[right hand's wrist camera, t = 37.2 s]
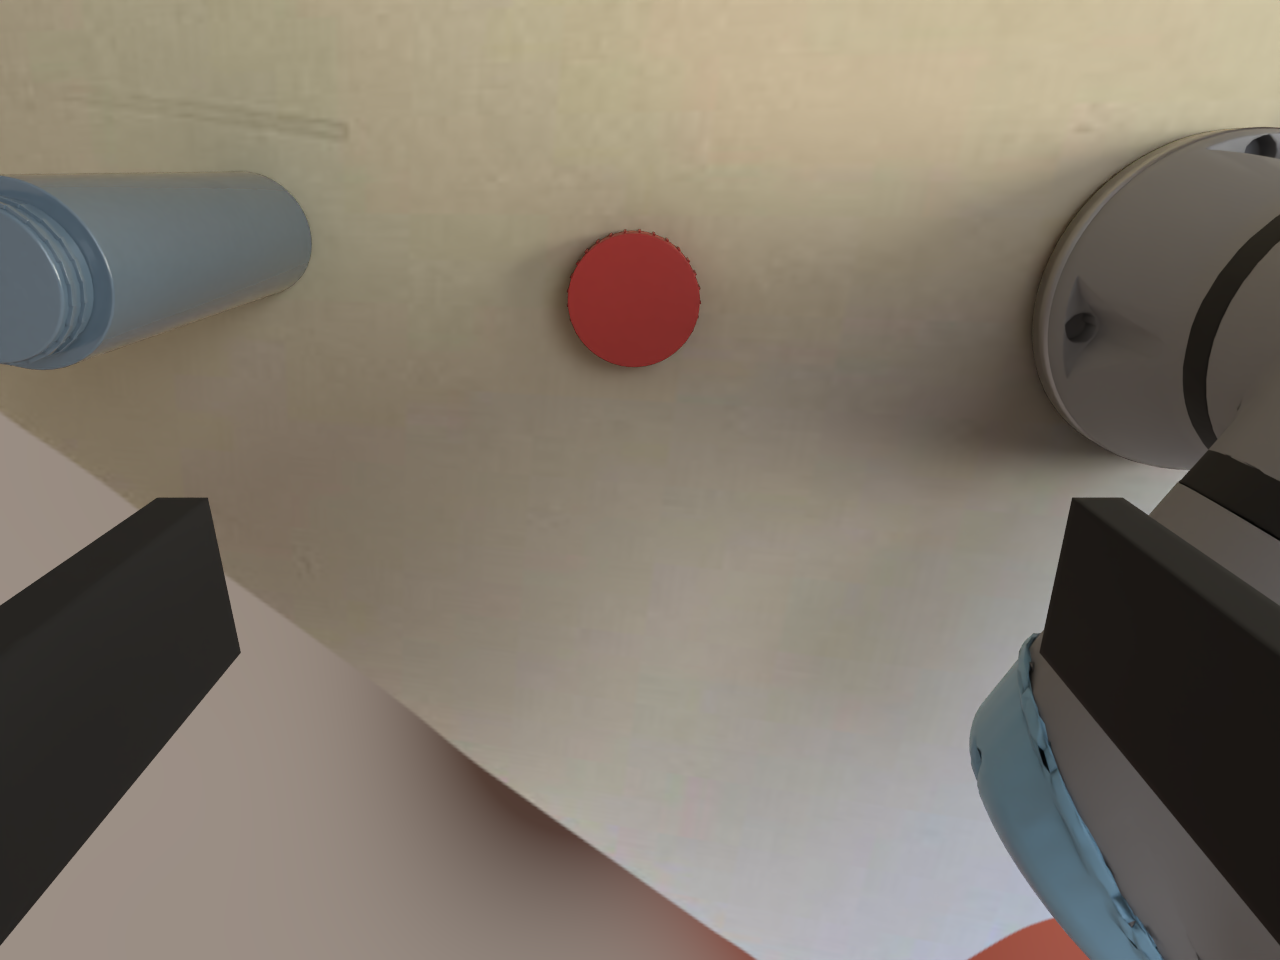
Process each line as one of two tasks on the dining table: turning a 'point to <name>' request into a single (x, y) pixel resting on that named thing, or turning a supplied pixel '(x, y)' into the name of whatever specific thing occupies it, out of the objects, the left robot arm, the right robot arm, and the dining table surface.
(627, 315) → the lid
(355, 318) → the dining table surface
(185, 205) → the jar
